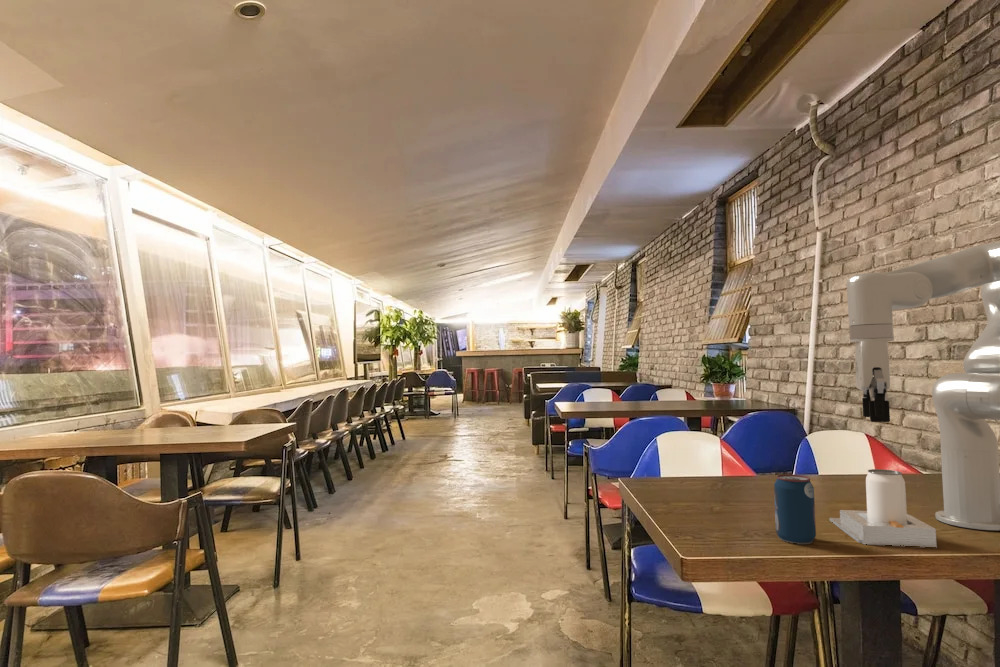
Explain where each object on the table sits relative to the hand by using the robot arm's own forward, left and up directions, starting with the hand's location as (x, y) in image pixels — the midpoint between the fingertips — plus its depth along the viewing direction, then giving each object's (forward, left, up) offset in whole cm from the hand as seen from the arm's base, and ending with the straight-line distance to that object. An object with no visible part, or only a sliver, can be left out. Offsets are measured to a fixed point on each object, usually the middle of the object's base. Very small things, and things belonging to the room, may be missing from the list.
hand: (876, 419), depth 116 cm
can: (0, +2, -22) cm, 22 cm away
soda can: (+18, +7, -23) cm, 30 cm away
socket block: (0, 0, -23) cm, 23 cm away
